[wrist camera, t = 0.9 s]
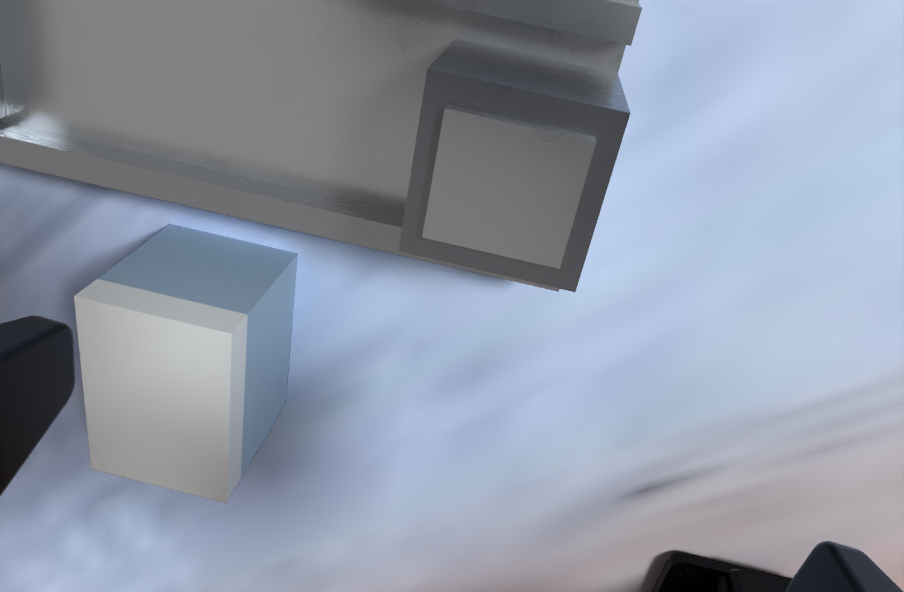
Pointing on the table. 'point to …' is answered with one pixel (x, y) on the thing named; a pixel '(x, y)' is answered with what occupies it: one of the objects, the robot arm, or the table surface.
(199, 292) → the block
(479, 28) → the din rail
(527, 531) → the table surface
